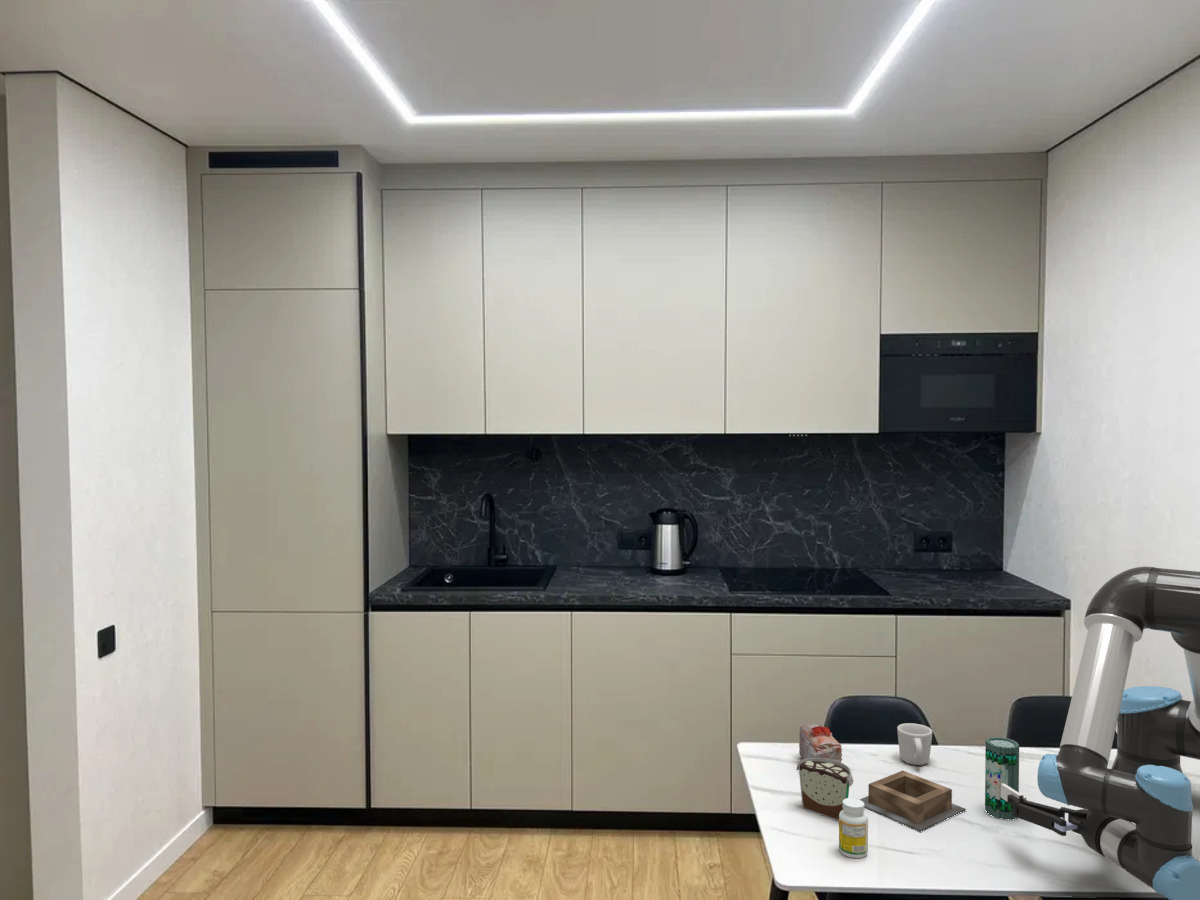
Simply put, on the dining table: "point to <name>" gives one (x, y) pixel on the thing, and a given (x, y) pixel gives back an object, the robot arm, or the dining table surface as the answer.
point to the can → (1000, 775)
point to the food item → (818, 743)
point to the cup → (914, 743)
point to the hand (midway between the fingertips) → (1033, 787)
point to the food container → (824, 785)
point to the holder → (911, 800)
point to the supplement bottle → (853, 829)
